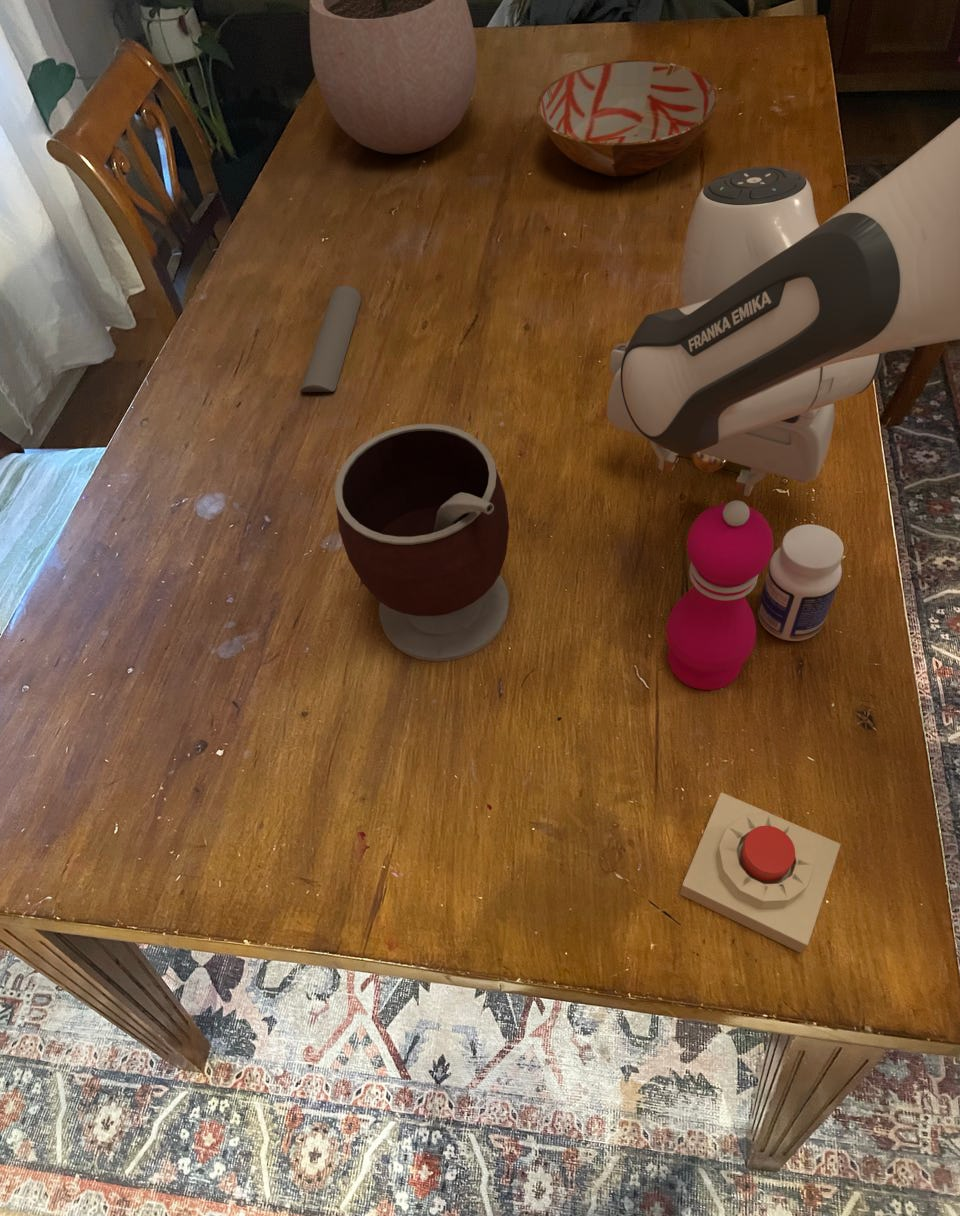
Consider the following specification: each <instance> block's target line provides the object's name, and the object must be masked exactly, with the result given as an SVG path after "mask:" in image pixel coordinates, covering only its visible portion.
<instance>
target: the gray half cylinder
mask: <svg viewBox="0 0 960 1216" xmlns="http://www.w3.org/2000/svg"><path fill="white" fill-rule="evenodd" d="M361 303H362V296H361V293H360V292H359V291H358V289H356V288H355V287H354V286H351V285H345V284H343V285H338V286H337V287H335V288H334V289H333V290H332V292H331V294H330V298H329V300H328V304H327V307H326V310H325V313H324V316H323V319H322V322H321V325H320V328H319V331H318V334H317V337H316V341H315V344H314V346H313V350H312V353H311V356H310V358H309V359H310V360H309V362H308V366H307V368H306V371H305V374H304V378H303V381H302V384H301V387H300V390H299V392H301V393H330V392H331V393H333V392H335V391H336V390H337V386H338V383H339V379H340V376H341V372H342V369H343V365H344V362H345V359H346V356H347V351H348V349H349V344H350V342H351V338H352V333H353V330H354V328H355V327H354V326H355V324H356V320H357V317H358V313H359V309H360V306H361Z"/></svg>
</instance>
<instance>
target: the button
mask: <svg viewBox="0 0 960 1216" xmlns="http://www.w3.org/2000/svg"><path fill="white" fill-rule="evenodd" d="M794 859H795V848H794V845H793V842H792V841H791V839H790V838H789V836H788V835H787V834H786V833H784V832H783V831H782V830H780V829H778V828H776V827H772V826H759V827H756V828H754V829H753V830H751V831H750V832H749V833H748V835H747V836H746V838H745V841H744V843H743V845H742V848H741V860H742V863H743V865H744V867H745V869H746V870H747V871H748V872H749V873H750V874H751V875H752V876H754V877H755V878H757V879H760V880H763V881H776V880H779V879H781V878H782V877H784V876H785V875H786V874H787V872H788V870H789V869H790V867H791V865H792V864H793V862H794Z"/></svg>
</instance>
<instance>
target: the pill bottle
mask: <svg viewBox="0 0 960 1216" xmlns="http://www.w3.org/2000/svg"><path fill="white" fill-rule="evenodd" d="M844 547H845V546H844V544H843V541H842V538H840V536H839V535H838V534H837V533H835V532H834V531H833V530H832V529H829V528H828V527H825V526H822V525H818V524H812V523H810V524H809V523H807V524H800V525H797V526H795V527H793V528H791V529H789V530H788V531H787V532H786V533H785V534H784V536H783V539H782V541H781V545H780V546H779V547H778V548H777V549H776V550H775V551H774V553H772V556H771V558H770V561H769V562H768V568H767V571H766V575H765V579H764V582H763V585H762V586H763V587H762V590H761V593H760V598H759V603H758V605H757V617H758V620H759V623H760V624H761V626H762V627H763V628H764V630H765V631H767V632H768V633H769V634H771V635H772V636H774V637H776V638H777V639H780V640H783V641H788V642H789V641H791V642H799V641H800V642H801V641H805V640H808V639H810V638H813V637H814V636H816V635H817V634H818V633H819V632H820V631H821V629H822V628H823V627H824V624H825V622H826V620H827V617H828V614H829V611H830V608H831V606H832V604H833V600H834V598H835V595H836V592H837V589H838V588H839V585H840V582H841V579H842V574H843V569H842V568H843V567H842V564H841V562H842V559H843V556H844V551H845V548H844Z"/></svg>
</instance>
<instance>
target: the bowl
mask: <svg viewBox="0 0 960 1216" xmlns="http://www.w3.org/2000/svg"><path fill="white" fill-rule="evenodd" d="M718 105H719V91H718V89H717V87H716V85H715V84H714V83H713V81H711V79H710V78H709V77H707V76H706V75H704V74H703V73H701V72H699V71H697V70H695V69H693V68H690V67H688V66H685V65H681V64H677V63H673V62H667V61H659V60H649V59H629V60H627V59H626V60H617V61H610V62H603V63H599V64H594V65H590V66H586V67H583V68H580V69H577V70H574V71H572V72H570V73H567V74H565V75H563V76H561V77H559V78H558V79H556V80H555V81H553V82H552V83H550V84H549V85H547V87H546V88H545V89H544V90H543V91H542V92H541V94H540V95H539V97H538V98H537V101H536V106H535V109H536V114H537V118H538V119H539V122H540V123H541V126H543V129H544V130H545V132H546V133H547V135H548V137H549V138H550V140H551V141H552V143H553V144H554V145H555V146H556V147H557V148H558V150H559V151H561V153H563V154H564V155H565V156H566V157H567V158H569V160H571V161H572V162H574V163H576V164H577V165H579V166H580V167H583V168H585V169H588V170H590V171H592V172H596V173H598V174H601V175H604V176H610V177H619V178H620V177H621V178H622V177H632V176H637V175H641V174H645V173H647V172H650V171H652V170H654V169H656V168H658V167H660V166H663V165H664V164H667V163H668V162H670V161H672V160H674V159H675V158H676V157H678V156H679V155H680V154H681V153H683V152H684V151H685V150H686V149H687V148H689V147H690V146H691V144H692V143H693V142H694V141H695V140H696V138H698V136H699V135H700V134H701V133H702V132H703V130H704V129H705V127H706V126H707V125H708V123H709V121H710V120H711V118H712V116H713V114H714V112H715V111H716V108H717V106H718Z"/></svg>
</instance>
